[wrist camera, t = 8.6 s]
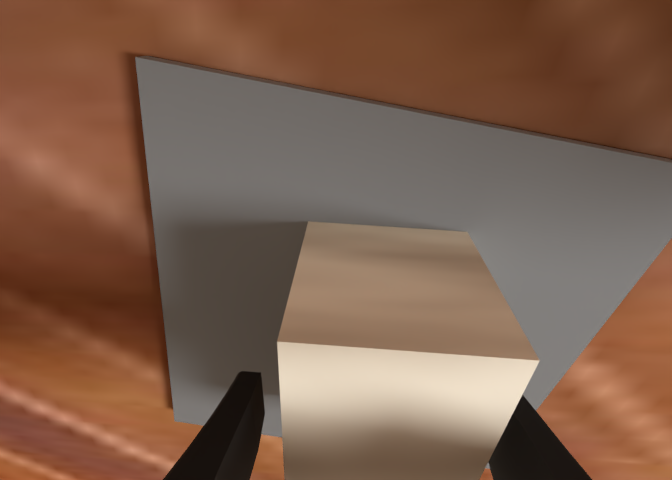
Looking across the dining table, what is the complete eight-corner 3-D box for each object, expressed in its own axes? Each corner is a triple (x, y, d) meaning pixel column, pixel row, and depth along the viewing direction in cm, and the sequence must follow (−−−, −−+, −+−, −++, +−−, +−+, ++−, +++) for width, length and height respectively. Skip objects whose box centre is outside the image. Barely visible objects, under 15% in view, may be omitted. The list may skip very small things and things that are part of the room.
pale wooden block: (418, 407, 15) (442, 551, 11) (306, 399, 16) (287, 538, 11) (467, 232, 11) (539, 360, 7) (308, 221, 11) (277, 341, 7)
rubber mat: (703, 165, 10) (722, 172, 10) (486, 456, 18) (490, 468, 18) (147, 55, 9) (135, 56, 9) (180, 409, 17) (174, 421, 17)
